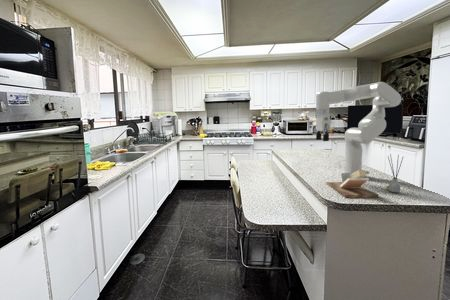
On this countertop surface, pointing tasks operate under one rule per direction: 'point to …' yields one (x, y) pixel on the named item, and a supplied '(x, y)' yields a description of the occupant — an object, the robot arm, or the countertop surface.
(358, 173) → the trowel
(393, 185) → the reed diffuser
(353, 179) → the tile
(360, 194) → the board
